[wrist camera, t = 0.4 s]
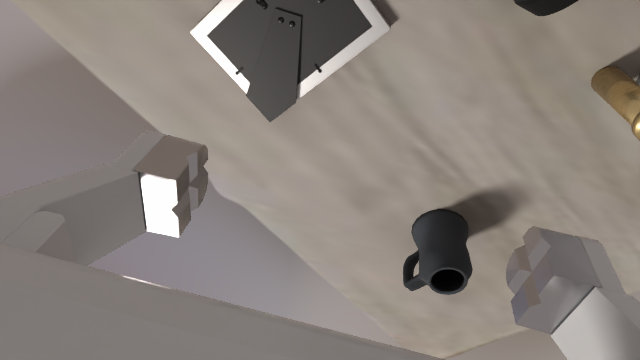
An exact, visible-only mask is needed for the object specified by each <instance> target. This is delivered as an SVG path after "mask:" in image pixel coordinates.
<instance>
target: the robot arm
mask: <svg viewBox="0 0 640 360" xmlns="http://www.w3.org/2000/svg"><path fill="white" fill-rule="evenodd" d="M207 160H208V148H207V147H206V146H205V145H203V144H199V143H196V142H192V141H188V140H185V139H181V138H177V137H173V136H170V135H165V134H162V133H158V132H154V131H150V130H149V131H145V132H143V133H142V134H141V135H140V136H139V137H138V138H137V139H136V140H135V141H134V142H133V143H132V144H131V145H130V146H129V147H128V148H127V149H126V150H125V151H124V152H123V153H122V154H121V155H120V156H119V157H118V158H117V159H116V160H115V161H114V162H113V163H112V164H111V165H108V164H102V165H99V166H96V167H92V168H89V169H86V170H83V171H79V172H76V173H73V174H70V175H66V176H63V177H60V178H57V179H54V180H51V181H47V182H44V183H41V184H38V185H35V186H31V187H28V188H25V189H22V190H19V191H15V192H13V193H9V194H6V195H3V196H0V360H444V359H440V358H437V357H433V356H429V355H425V354H421V353H418V352H414V351H410V350H406V349H402V348H398V347H394V346H391V345H387V344H383V343H380V342H376V341H372V340H368V339H364V338H360V337H357V336H353V335H349V334H345V333H341V332H337V331H334V330H330V329H326V328H322V327H318V326H315V325H311V324H307V323H303V322H299V321H295V320H292V319H288V318H284V317H280V316H276V315H272V314H269V313H265V312H261V311H257V310H254V309H250V308H246V307H242V306H238V305H234V304H231V303H227V302H223V301H219V300H215V299H211V298H208V297H204V296H200V295H196V294H193V293H189V292H185V291H181V290H177V289H173V288H169V287H166V286H162V285H158V284H154V283H150V282H146V281H143V280H139V279H135V278H131V277H128V276H124V275H120V274H116V273H112V272H109V271H105V270H101V269H97V268H93V267H89V266H88V265H89V264H91V263H93V262H94V261H96V260H98V259H100V258H101V257H103V256H105V255H107V254H108V253H110V252H112V251H113V250H115V249H117V248H119V247H120V246H122V245H124V244H126V243H127V242H129V241H131V240H133V239H134V238H136V237H138V236H139V235H141V234H143V233H145V230H147V231H152V232H156V233H160V234H165V235H169V236H174V237H178V238H179V237H180V236H181V234H182V233H183V231H184V229H185V228H186V226H187V225H188V223H189V222H190V220H191V211H192V210H194V209H196V208H198V207H199V205H200V204H201V202H202V201H203V198H204V195H205V193H206V189H207V184H208V172H207V171H206V170H205V168H204V167H203V166H204V164H205V163H206V161H207ZM523 239H524V243H525V245H524V246H522V247H519V248H517V249H515V250H514V252H513V253H512V255H511V257H510V258H509V261H508V265H507V269H506V279H507V285H508V287H509V288H510V289H511V290H512V292H513V293H514V294H515V296H514V297H513V299H512V300H511V305H512V309H513V314H514V319H515V323H516V324H517V325H520V326H524V327H527V328H531V329H534V330H538V331H541V332H545V333H548V334H552V335H551V337H552V338H553V339H554V341H555V342H556V344H557V345H558V347H559V348H560V349H561V351H562V352H563V353H564V355H565V356H566V357H567V359H568V360H640V302H639V301H638V300H637V299H635V298H634V297H633V296H630V295H626V293H625V291H624V289H623V287H622V285H621V283H620V281H619V279H618V277H617V274H616V272H615V270H614V268H613V266H612V264H611V262H610V260H609V258H608V256H607V253H606V251H605V249H604V247H603V245H602V244H601V243H600V242H599V241H598V240H594V239H589V238H585V237H580V236H572V235H568V234H564V233H560V232H556V231H552V230H548V229H544V228H539V227H535V226H533V227H531V228H530V229H528V231H527V232H526V233H525V235H524V236H523Z"/></svg>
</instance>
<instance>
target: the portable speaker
mask: <svg viewBox="0 0 640 360" xmlns="http://www.w3.org/2000/svg"><path fill="white" fill-rule="evenodd" d="M577 1H578V0H514V2H515V3H516V4H517V5H519V6H520V7H522V8H524V9H526V10H528V11H529V12H531V13H533V14H535V15H537V16H546V15H550V14H553V13H556V12H558V11H560V10H563V9H564V8H566V7H568V6H570V5H572V4H573V3H575V2H577Z"/></svg>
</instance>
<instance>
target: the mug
mask: <svg viewBox="0 0 640 360" xmlns="http://www.w3.org/2000/svg"><path fill="white" fill-rule="evenodd" d="M412 236H413V239H414V241H415V243H416V245H417V247H418V251H417V252H415V253H414V254H412V255H410V256H409V257H408V258H407V259H406V261H405V263H404V267H403V282H404V286H405V287H407V288H408V289H409V290H410V291H414V290H417V289H419V288H421V287H423V286H425V285H428V286H430V288H431V289H432V290H433V291H435V292H437V293H440V294H445V295H450V294H455V293H458V292H460V291H462V290H463V289H464V288H465V287H466V285H467V283H468V279H469V278H470V276H471V274H472V265H471V261H470V257H469V252H468V250H467V247H466V241H467V237H468V226H467V222H466V221H465V219H464V218H463V217H462V216H461V215H459V214H458V213H456V212H453V211H450V210H444V209H437V210H432V211H428V212H426V213H424V214H422V215H421V216H420V217H419V218H417V219H416V221H415V222H414V224H413V226H412ZM418 261H419V274H418V275H416V276H415V277H414V276H413V272H414V268H415V266H416V264H417V263H418Z"/></svg>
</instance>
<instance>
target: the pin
mask: <svg viewBox="0 0 640 360" xmlns="http://www.w3.org/2000/svg"><path fill="white" fill-rule="evenodd" d="M591 86H592V88H593V90H594V91H596V92H597V93H598V94H599V95H600V96H601V97H602V98H603V99H604V100H605V101H606V102H607V103H608V104H609V105H610V106H611V107H612V108H613V109H614V110H615V111H617V112H618V113H619V114H620V115H621V116H622V117H623V118H624V119H625V120H626V121H627V122H628V123H629V124H630V125H631V126H632V132H633V134H634V135H635V136H636V137H637V138H638V139H639V140H640V85H639V84H638V83H637V82H636V81H634V80H633V79H632V78H630V77H629V76H628V75H626V74H625V73H624V72H622V71H621V70H620V69H618V68H617V67H613V66H609V67H605V68H602V69H601V70H599V71H598V72H597V73H596V74H595V75H594V76H593V78H592V81H591Z"/></svg>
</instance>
